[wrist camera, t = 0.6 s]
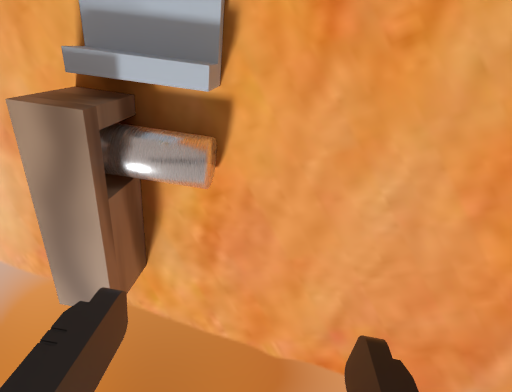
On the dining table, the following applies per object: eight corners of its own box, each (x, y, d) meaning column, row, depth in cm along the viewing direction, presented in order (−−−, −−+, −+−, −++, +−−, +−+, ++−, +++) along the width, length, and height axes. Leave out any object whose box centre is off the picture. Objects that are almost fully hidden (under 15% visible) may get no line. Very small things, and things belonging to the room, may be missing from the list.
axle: (218, 132, 25) (205, 143, 21) (215, 179, 27) (202, 197, 23) (82, 112, 26) (45, 119, 22) (87, 159, 27) (53, 173, 23)
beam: (134, 94, 24) (82, 109, 18) (146, 264, 32) (113, 313, 26) (75, 86, 24) (5, 99, 18) (102, 257, 32) (59, 303, 27)
